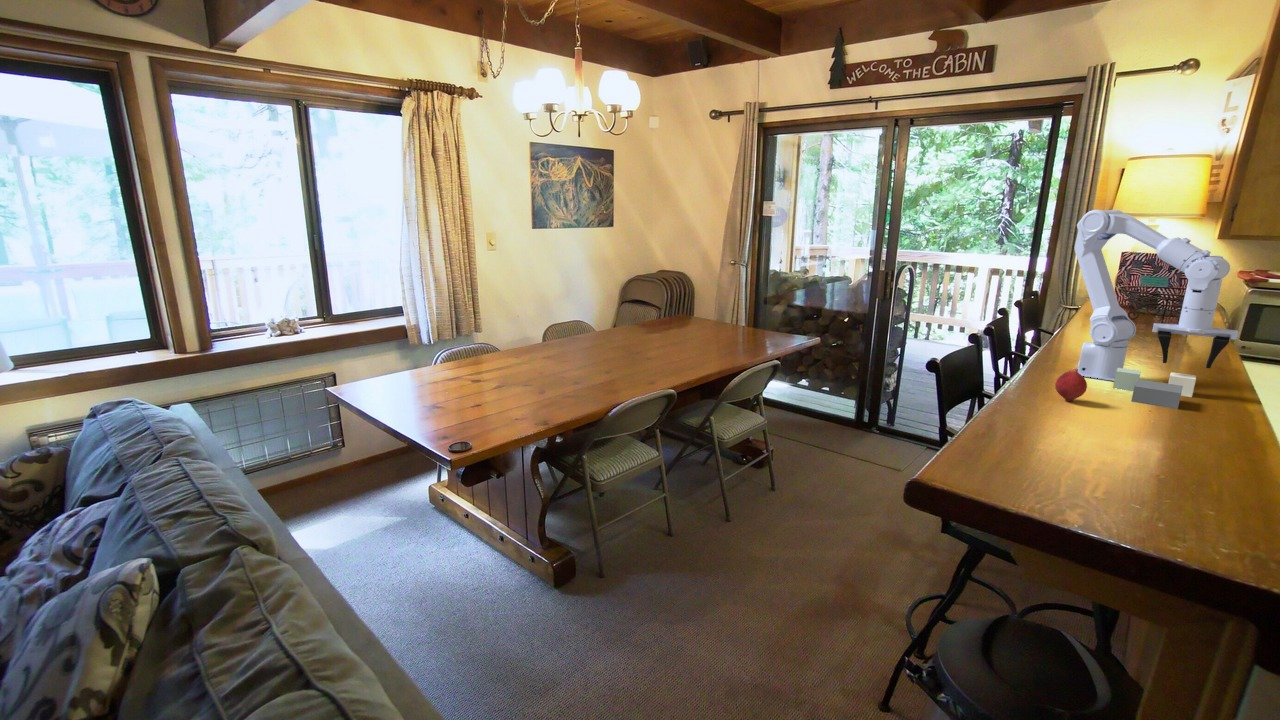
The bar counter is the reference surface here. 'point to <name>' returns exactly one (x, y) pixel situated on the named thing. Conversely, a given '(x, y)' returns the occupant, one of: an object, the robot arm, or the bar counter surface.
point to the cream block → (1183, 382)
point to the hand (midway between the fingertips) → (1186, 364)
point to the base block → (1157, 394)
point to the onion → (1071, 385)
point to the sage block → (1126, 379)
